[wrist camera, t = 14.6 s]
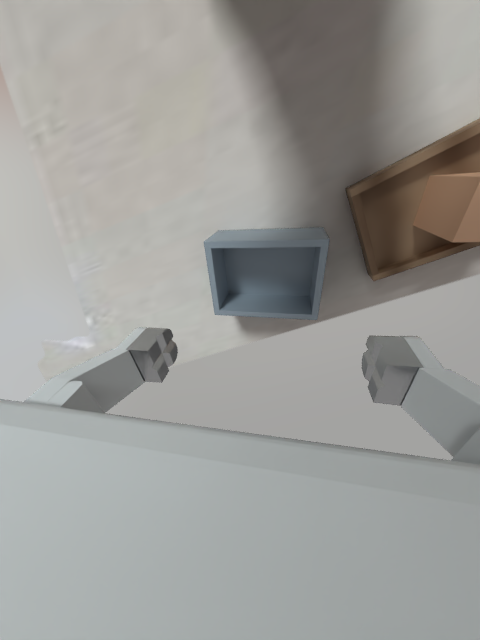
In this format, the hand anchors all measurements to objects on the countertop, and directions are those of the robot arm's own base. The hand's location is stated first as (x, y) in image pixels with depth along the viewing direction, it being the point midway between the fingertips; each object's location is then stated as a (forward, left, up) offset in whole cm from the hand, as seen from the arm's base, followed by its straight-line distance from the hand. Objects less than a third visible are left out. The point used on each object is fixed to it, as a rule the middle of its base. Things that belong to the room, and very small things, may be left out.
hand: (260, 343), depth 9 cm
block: (-2, +18, -25) cm, 31 cm away
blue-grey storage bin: (+6, -2, -26) cm, 26 cm away
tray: (-2, +18, -26) cm, 31 cm away
